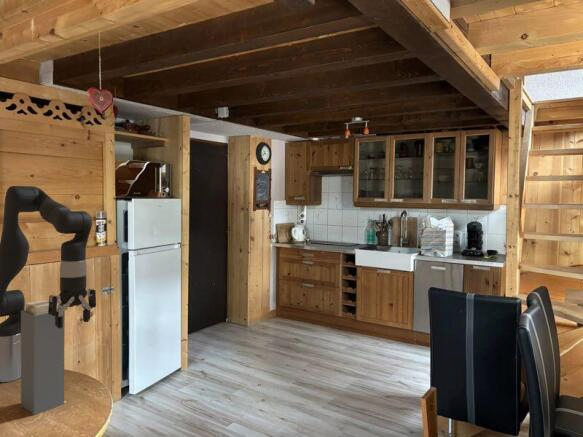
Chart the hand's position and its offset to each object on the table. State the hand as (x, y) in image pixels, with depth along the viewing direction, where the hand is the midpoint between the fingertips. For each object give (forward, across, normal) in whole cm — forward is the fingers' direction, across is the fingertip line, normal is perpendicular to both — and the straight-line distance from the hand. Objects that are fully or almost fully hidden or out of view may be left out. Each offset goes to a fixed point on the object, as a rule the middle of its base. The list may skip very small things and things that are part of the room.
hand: (72, 324), depth 138 cm
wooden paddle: (-3, -2, -13) cm, 13 cm away
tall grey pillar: (+29, +3, -13) cm, 32 cm away
